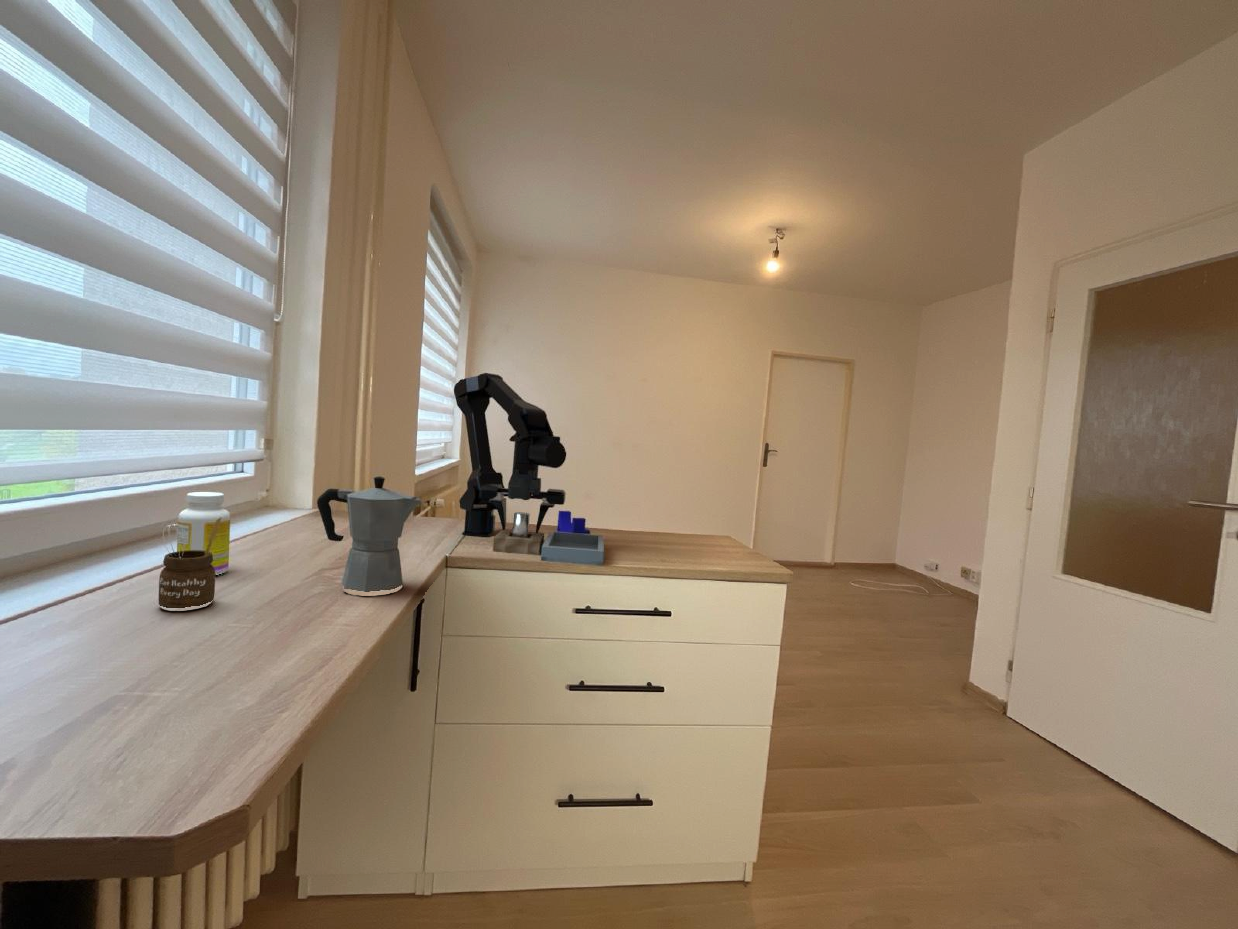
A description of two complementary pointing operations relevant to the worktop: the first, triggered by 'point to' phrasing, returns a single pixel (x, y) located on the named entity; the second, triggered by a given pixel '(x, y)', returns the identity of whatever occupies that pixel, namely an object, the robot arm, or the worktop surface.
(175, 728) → the worktop surface
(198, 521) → the supplement bottle
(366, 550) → the coffeepot
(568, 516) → the cable clip
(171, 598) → the utensil holder
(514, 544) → the socket block
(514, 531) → the silver metal cylinder
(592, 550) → the tray
